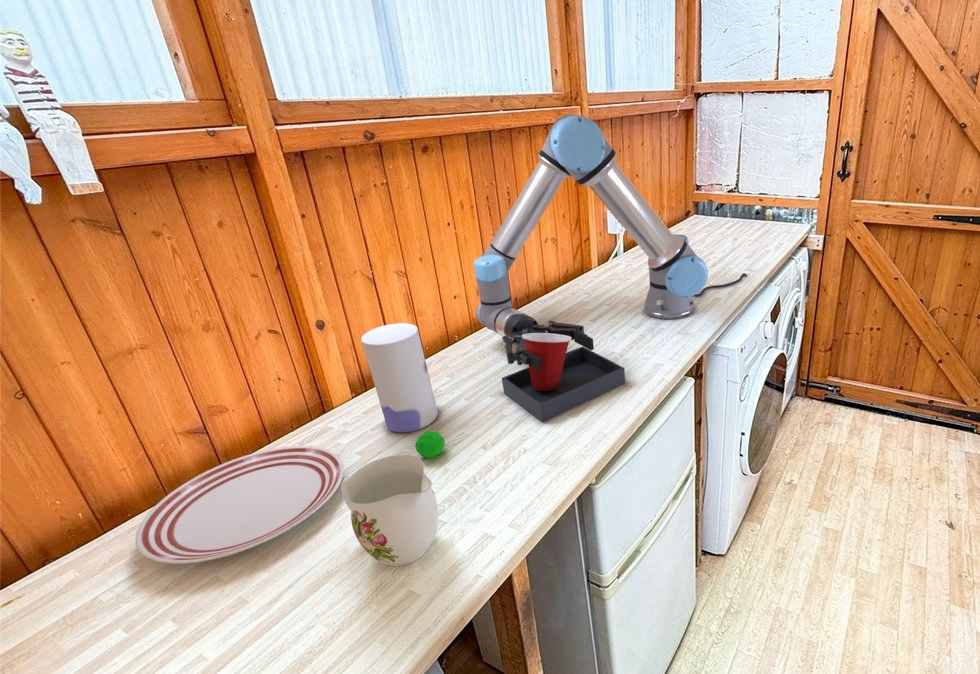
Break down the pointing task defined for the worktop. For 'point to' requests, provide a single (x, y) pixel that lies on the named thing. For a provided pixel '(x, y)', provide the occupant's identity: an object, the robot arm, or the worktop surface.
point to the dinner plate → (239, 504)
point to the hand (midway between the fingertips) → (567, 354)
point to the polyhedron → (429, 444)
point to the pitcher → (392, 508)
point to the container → (400, 376)
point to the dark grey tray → (566, 384)
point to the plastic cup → (547, 358)
